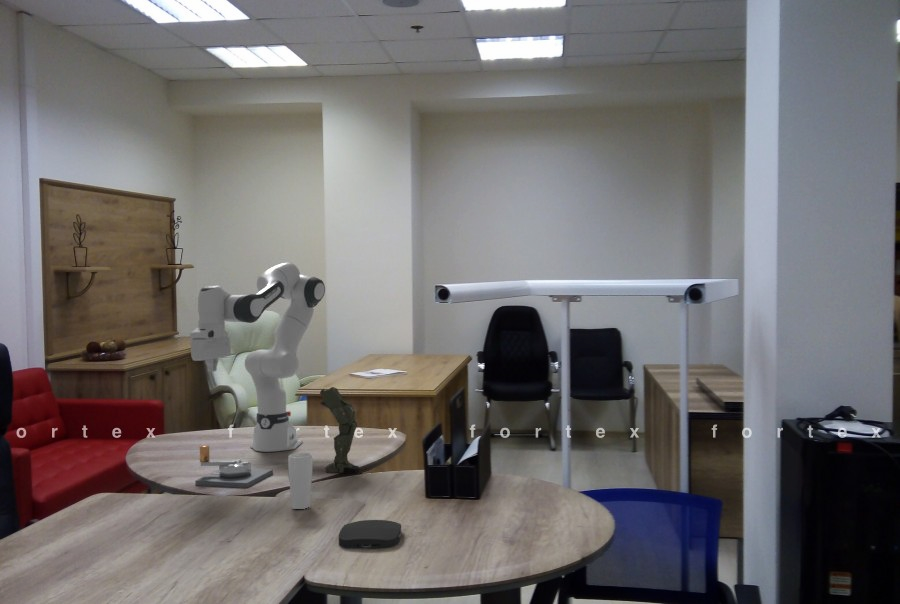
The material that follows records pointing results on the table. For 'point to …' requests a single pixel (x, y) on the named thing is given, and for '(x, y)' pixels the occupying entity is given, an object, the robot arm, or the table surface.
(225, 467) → the lever
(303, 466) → the drinking glass
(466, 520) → the table surface
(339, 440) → the mechanical leg
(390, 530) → the media streaming box
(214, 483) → the housing plate
